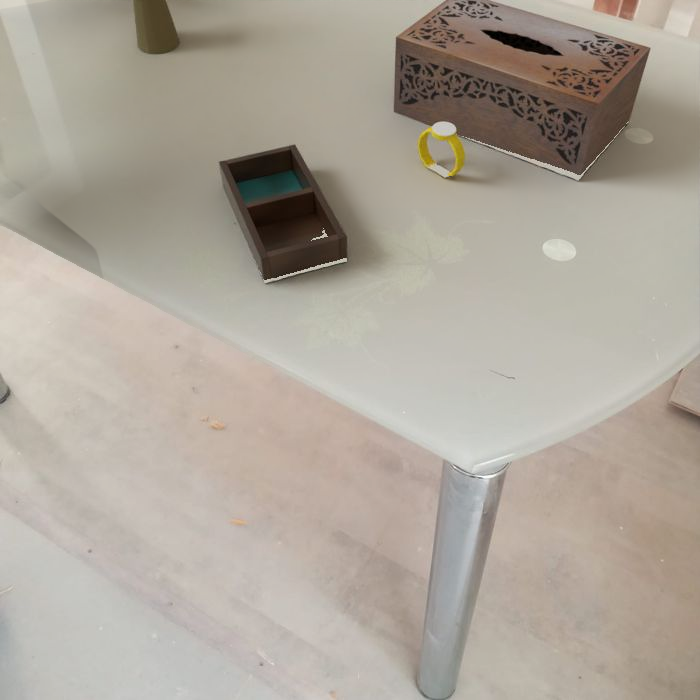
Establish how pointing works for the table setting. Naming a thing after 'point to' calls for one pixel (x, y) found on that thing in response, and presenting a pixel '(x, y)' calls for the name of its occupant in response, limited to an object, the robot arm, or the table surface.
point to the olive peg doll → (154, 26)
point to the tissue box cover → (518, 80)
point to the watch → (444, 133)
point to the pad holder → (282, 211)
